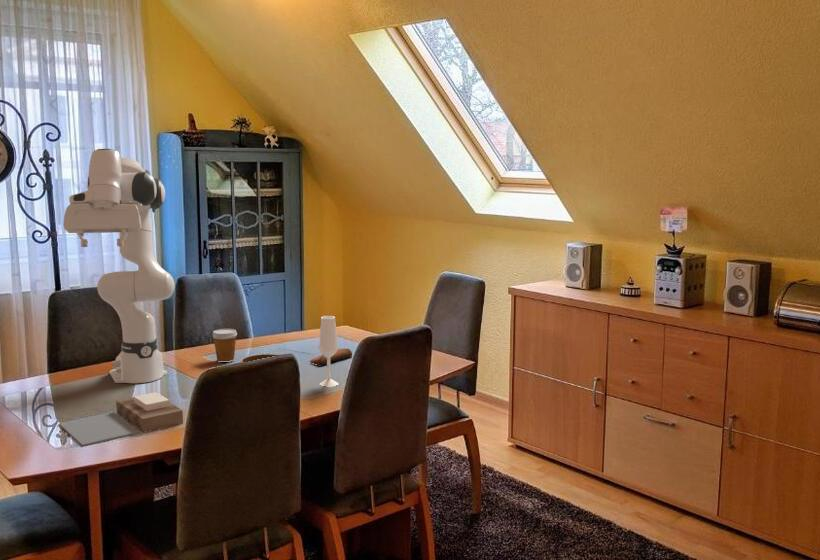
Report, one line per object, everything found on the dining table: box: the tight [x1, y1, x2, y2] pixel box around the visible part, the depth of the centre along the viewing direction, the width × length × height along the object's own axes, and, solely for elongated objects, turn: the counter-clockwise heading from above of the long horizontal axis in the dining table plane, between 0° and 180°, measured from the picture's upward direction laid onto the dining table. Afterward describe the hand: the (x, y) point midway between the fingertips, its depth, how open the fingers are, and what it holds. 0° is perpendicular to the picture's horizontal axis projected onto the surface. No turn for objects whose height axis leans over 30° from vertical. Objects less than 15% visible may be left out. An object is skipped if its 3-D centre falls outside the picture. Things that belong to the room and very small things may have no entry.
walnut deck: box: [115, 396, 184, 433], centre depth 230 cm, size 22×12×4 cm, turn 40°
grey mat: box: [58, 411, 141, 447], centre depth 221 cm, size 22×16×1 cm
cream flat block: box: [133, 391, 170, 411], centre depth 231 cm, size 10×7×2 cm
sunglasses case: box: [309, 348, 353, 367], centre depth 296 cm, size 18×7×7 cm
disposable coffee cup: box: [211, 328, 238, 361], centre depth 294 cm, size 10×10×12 cm
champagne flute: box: [318, 315, 339, 388], centre depth 264 cm, size 7×7×24 cm
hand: (102, 246), depth 209 cm, fingers open, 8 cm apart
